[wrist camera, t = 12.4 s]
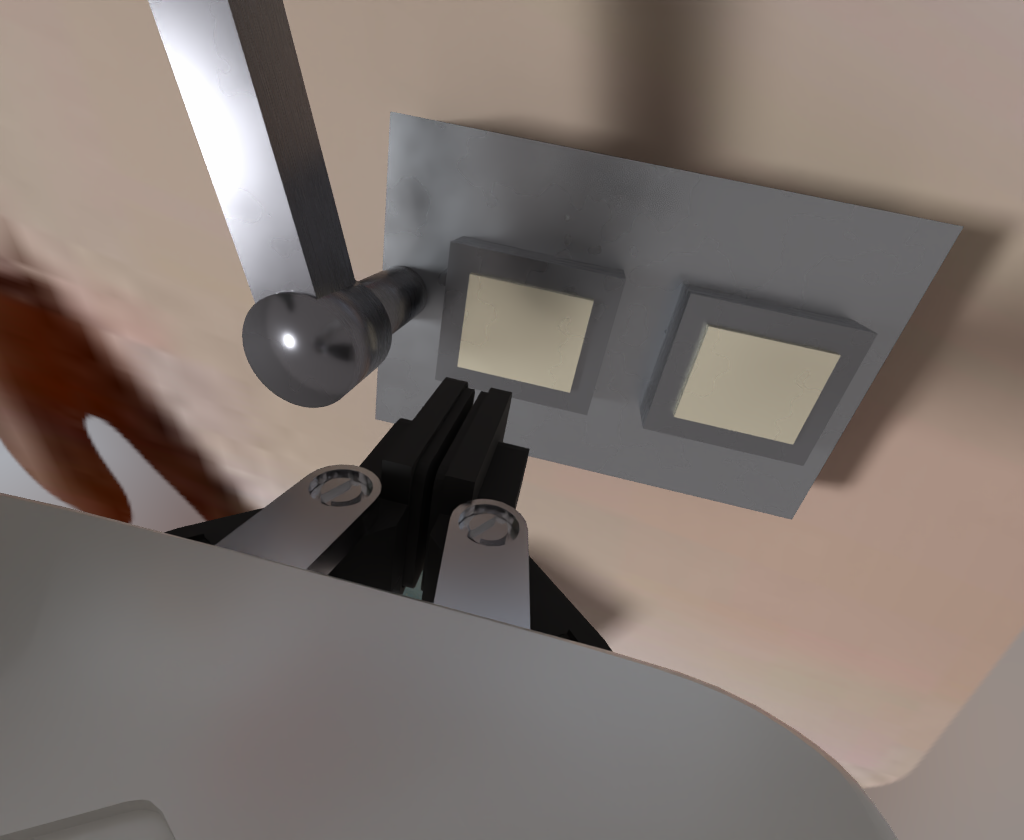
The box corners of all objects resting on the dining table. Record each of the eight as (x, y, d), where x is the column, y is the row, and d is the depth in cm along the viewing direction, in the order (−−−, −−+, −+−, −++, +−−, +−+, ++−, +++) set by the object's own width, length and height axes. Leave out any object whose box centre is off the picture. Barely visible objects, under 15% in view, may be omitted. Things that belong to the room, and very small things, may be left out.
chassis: (902, 218, 21) (1102, 245, 13) (767, 475, 28) (840, 605, 19) (419, 121, 22) (312, 87, 14) (399, 388, 29) (318, 474, 21)
